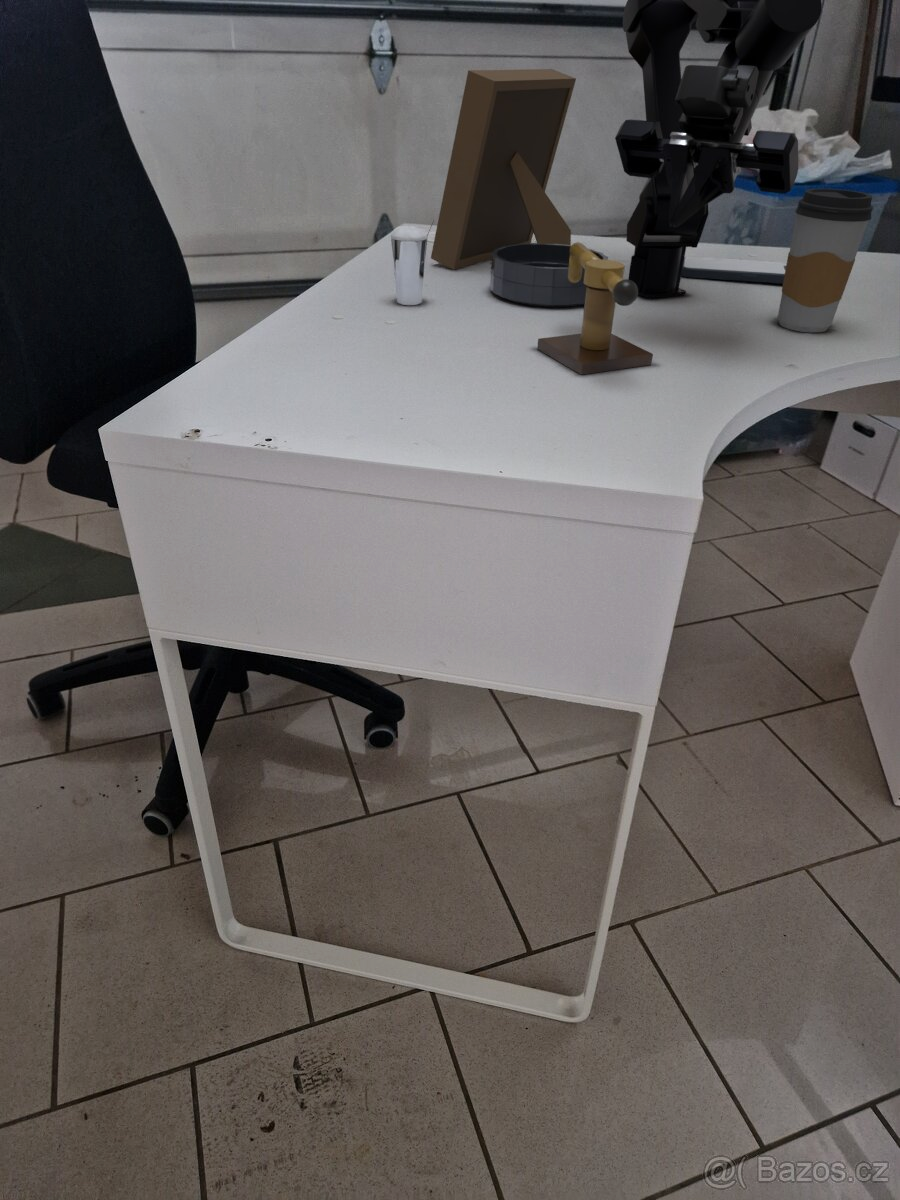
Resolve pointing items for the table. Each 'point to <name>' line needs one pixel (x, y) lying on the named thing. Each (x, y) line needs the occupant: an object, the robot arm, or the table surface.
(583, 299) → the basin
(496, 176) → the photo frame
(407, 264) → the milkshake
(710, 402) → the table surface
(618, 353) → the faucet base
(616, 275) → the faucet
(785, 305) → the coffee cup
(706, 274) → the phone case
